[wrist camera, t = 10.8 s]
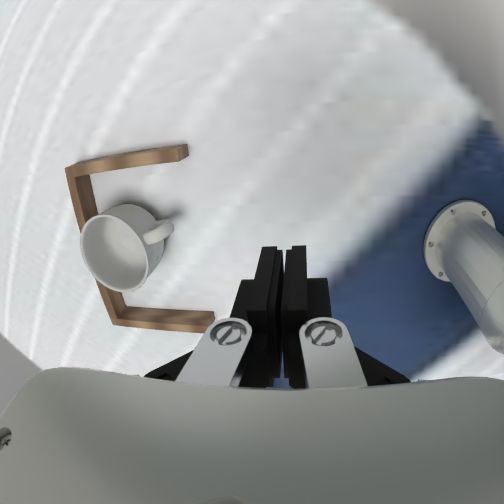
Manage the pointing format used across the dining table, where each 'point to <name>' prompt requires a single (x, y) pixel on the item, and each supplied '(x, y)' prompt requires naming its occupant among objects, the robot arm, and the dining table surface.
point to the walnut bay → (87, 209)
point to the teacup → (123, 246)
